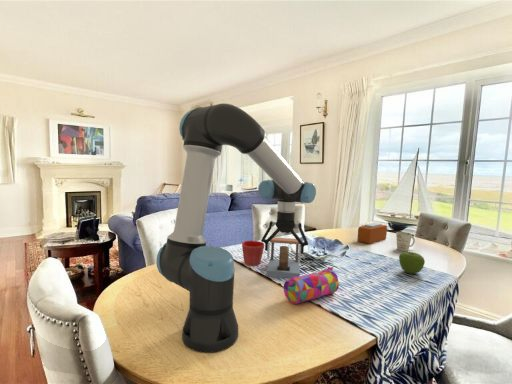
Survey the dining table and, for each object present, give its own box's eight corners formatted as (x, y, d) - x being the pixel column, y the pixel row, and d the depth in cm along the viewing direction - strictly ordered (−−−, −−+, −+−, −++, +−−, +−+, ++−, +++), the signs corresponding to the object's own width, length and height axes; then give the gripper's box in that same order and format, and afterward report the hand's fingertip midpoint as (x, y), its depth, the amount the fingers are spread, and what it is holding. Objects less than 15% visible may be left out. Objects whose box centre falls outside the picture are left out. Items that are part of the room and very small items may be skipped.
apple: (417, 279, 123) (419, 256, 122) (393, 271, 131) (395, 250, 130) (427, 273, 130) (429, 252, 129) (403, 267, 138) (405, 247, 137)
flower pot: (267, 265, 133) (268, 245, 133) (245, 267, 129) (246, 247, 128) (258, 258, 143) (259, 239, 142) (238, 260, 139) (239, 241, 138)
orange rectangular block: (374, 237, 200) (375, 221, 199) (386, 239, 194) (387, 223, 193) (357, 241, 185) (358, 224, 184) (369, 244, 178) (370, 227, 177)
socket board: (299, 279, 118) (301, 248, 117) (266, 276, 120) (267, 246, 119) (298, 266, 134) (300, 239, 133) (269, 263, 136) (270, 237, 135)
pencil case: (320, 285, 113) (322, 263, 112) (340, 294, 106) (342, 271, 105) (280, 299, 100) (281, 274, 99) (299, 310, 92) (301, 284, 92)
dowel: (287, 276, 121) (288, 248, 120) (278, 275, 122) (279, 248, 121) (287, 272, 125) (289, 246, 124) (278, 271, 126) (280, 245, 125)
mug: (391, 248, 172) (393, 232, 172) (408, 247, 176) (409, 231, 175) (402, 252, 165) (404, 235, 164) (419, 250, 168) (420, 234, 167)
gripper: (314, 211, 123) (312, 258, 125) (258, 208, 126) (256, 254, 128) (316, 214, 116) (313, 264, 117) (256, 210, 119) (254, 259, 121)
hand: (283, 259), depth 123 cm, fingers open, 13 cm apart
